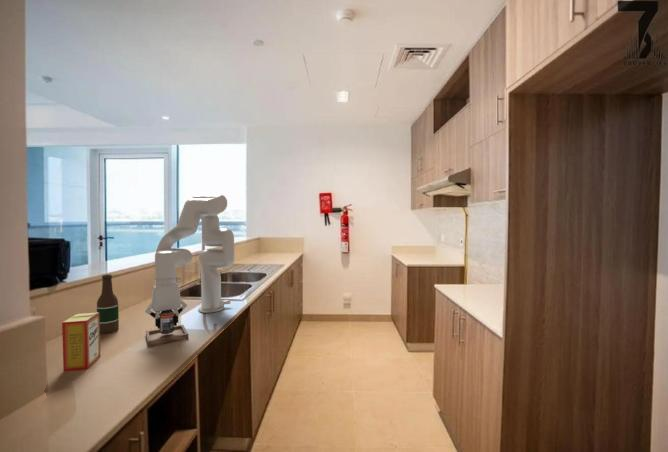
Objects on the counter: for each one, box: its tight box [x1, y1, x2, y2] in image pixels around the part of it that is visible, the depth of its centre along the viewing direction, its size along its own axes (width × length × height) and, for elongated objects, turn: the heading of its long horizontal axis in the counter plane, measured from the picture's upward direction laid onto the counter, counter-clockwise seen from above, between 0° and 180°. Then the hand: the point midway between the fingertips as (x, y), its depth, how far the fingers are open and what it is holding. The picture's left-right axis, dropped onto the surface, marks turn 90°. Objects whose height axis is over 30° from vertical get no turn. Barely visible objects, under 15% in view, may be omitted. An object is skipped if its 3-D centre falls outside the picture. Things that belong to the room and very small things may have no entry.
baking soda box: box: [61, 311, 101, 372], centre depth 106 cm, size 10×6×16 cm
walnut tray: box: [145, 324, 189, 348], centre depth 129 cm, size 14×13×2 cm
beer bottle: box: [96, 274, 120, 335], centre depth 136 cm, size 8×8×24 cm
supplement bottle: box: [159, 310, 175, 334], centre depth 129 cm, size 5×5×10 cm
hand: (167, 325), depth 129 cm, fingers closed on supplement bottle, 5 cm apart
